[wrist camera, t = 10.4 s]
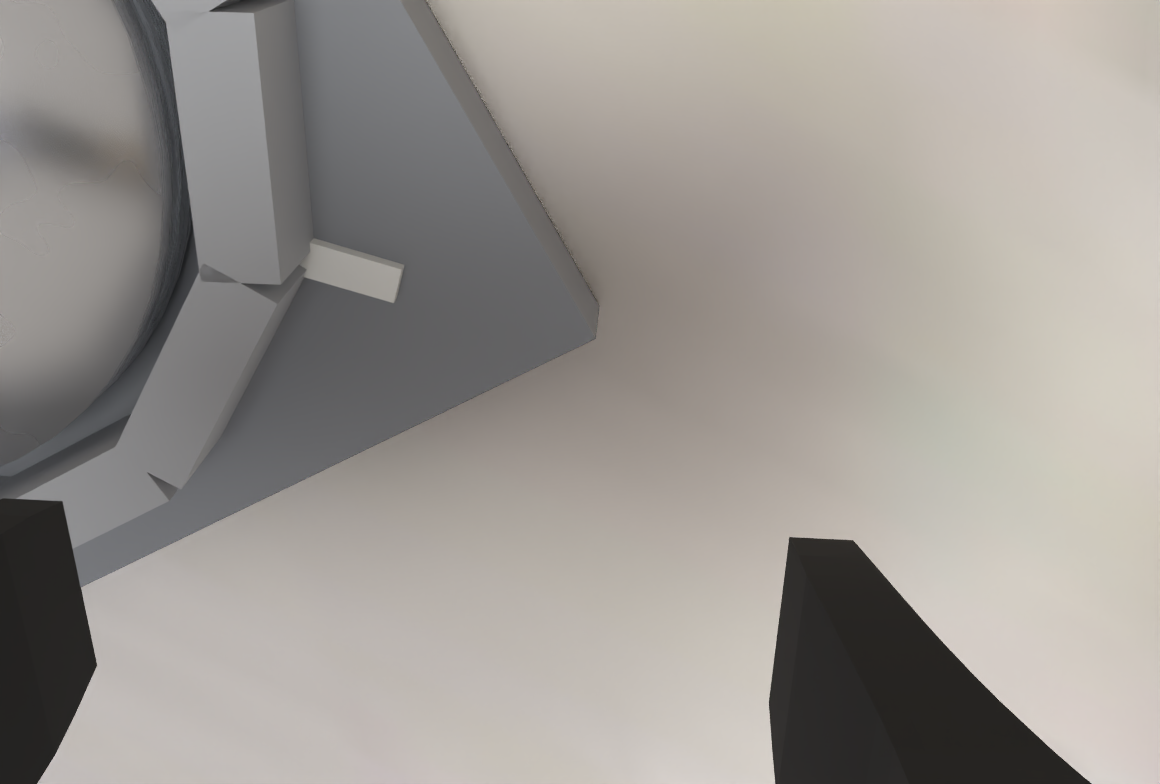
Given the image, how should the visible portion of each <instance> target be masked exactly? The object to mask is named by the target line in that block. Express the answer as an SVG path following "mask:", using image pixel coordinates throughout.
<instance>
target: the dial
mask: <svg viewBox="0 0 1160 784" xmlns="http://www.w3.org/2000/svg"><path fill="white" fill-rule="evenodd" d="M191 219H192V213H191V206H190V198H189V191H188V183H187V176H186V168H185V161H184V153H183V146H182V138H181V131H180V123H179V116H178V108H177V101H176V93H175V86H174V78H173V71H172V63H171V56H170V48H169V41H168V33H167V28H166V26H165V23H164V21H163V19H162V16H161V14H160V13H159V11H158V10H157V8H156V7H155V5H154V4H153V2H152V1H151V0H0V466H3V465H5V464H7V463H10V462H12V461H15V460H17V459H19V458H21V457H22V456H24V455H26V454H27V453H29V452H31V451H32V450H34V449H36V448H37V447H39V446H40V445H42V444H44V443H45V442H47V441H49V440H50V439H52V438H53V437H55V436H56V435H57V434H58V433H59V432H60V431H62V430H63V429H64V428H65V427H66V426H67V425H69V424H70V423H71V422H72V421H73V420H74V419H76V418H77V417H78V416H79V415H80V414H81V413H82V412H84V411H85V410H86V409H87V408H88V407H89V406H90V405H91V404H92V403H93V402H94V401H95V400H96V399H97V398H98V397H99V396H100V395H101V394H102V393H104V392H105V391H106V390H107V389H108V388H109V387H110V386H111V385H112V384H113V383H114V382H115V381H116V380H117V379H118V378H119V377H120V376H121V375H122V374H123V372H124V371H125V370H126V369H127V368H128V366H129V365H130V364H131V363H132V362H133V360H134V359H135V358H136V357H137V356H138V354H139V353H140V352H141V351H142V350H143V348H144V347H145V346H146V344H147V342H148V341H149V339H150V337H151V335H152V334H153V332H154V330H155V329H156V327H157V325H158V324H159V322H160V320H161V319H162V317H163V315H164V314H165V311H166V309H167V306H168V304H169V301H170V299H171V296H172V294H173V291H174V289H175V286H176V284H177V281H178V279H179V276H180V274H181V270H182V265H183V261H184V257H185V252H186V248H187V244H188V239H189V235H190V231H191Z"/></svg>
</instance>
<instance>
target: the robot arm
mask: <svg viewBox="0 0 1160 784" xmlns="http://www.w3.org/2000/svg"><path fill="white" fill-rule="evenodd" d="M96 666H97V663H96V658H95V654H94V649H93V644H92V639H91V634H90V630H89V625H88V620H87V615H86V611H85V606H84V601H83V596H82V592H81V587H80V582H79V577H78V572H77V568H76V563H75V558H74V553H73V549H72V544H71V539H70V534H69V530H68V525H67V520H66V515H65V510H64V506H63V501H48V500H28V499H8V498H3V499H0V784H37V783H38V781H39V780H40V778H41V776H42V775H43V773H44V772H45V770H46V768H47V767H48V765H49V764H50V762H51V760H52V759H53V757H54V756H55V754H56V752H57V750H58V748H59V746H60V744H61V742H62V740H63V738H64V736H65V734H66V732H67V730H68V728H69V726H70V724H71V721H72V719H73V717H74V715H75V713H76V711H77V709H78V707H79V704H80V702H81V700H82V698H83V695H84V693H85V691H86V689H87V687H88V684H89V682H90V680H91V678H92V675H93V673H94V671H95V669H96ZM769 710H770V724H771V737H772V750H773V762H774V773H775V784H1091V783H1090V782H1089V781H1088V780H1086V779H1085V778H1084V777H1083V776H1082V775H1080V774H1079V773H1078V772H1077V771H1076V770H1075V769H1073V768H1072V767H1071V766H1070V765H1069V764H1068V763H1066V762H1065V761H1064V760H1063V759H1062V758H1061V757H1060V756H1058V755H1057V754H1056V753H1055V752H1054V751H1053V750H1052V749H1050V748H1049V747H1048V746H1047V745H1046V744H1045V743H1044V742H1043V741H1042V740H1041V739H1040V738H1039V737H1038V736H1036V735H1035V734H1034V733H1033V732H1032V731H1031V730H1030V729H1029V728H1028V727H1027V726H1026V725H1025V724H1024V723H1023V722H1021V721H1020V720H1019V719H1018V718H1017V717H1016V716H1015V715H1014V714H1013V713H1012V712H1011V711H1010V710H1009V709H1008V708H1006V707H1005V706H1004V705H1003V704H1002V703H1001V702H1000V701H999V700H998V699H997V698H996V697H995V696H994V695H993V694H992V693H991V692H990V691H989V690H988V689H987V688H986V687H985V686H984V685H983V684H982V683H981V682H980V681H979V680H978V679H977V678H976V677H975V676H974V675H973V674H972V673H971V672H970V671H969V670H968V669H967V668H966V667H965V665H964V664H963V663H962V662H961V661H960V660H959V659H958V658H957V657H956V656H955V655H954V654H953V653H952V652H951V651H950V650H949V649H948V648H947V646H946V645H945V644H944V643H943V642H942V641H941V640H940V639H939V638H938V637H937V636H936V634H935V633H934V632H933V631H932V630H931V629H930V628H929V627H928V626H927V625H926V623H925V622H924V621H923V620H922V619H921V618H920V617H919V615H918V614H917V613H916V612H915V611H914V610H913V609H912V608H911V606H910V605H909V604H908V603H907V602H906V601H905V600H904V598H903V597H902V596H901V595H900V594H899V593H898V591H897V590H896V589H895V588H894V587H893V586H892V585H891V583H890V582H889V581H888V580H887V579H886V578H885V576H884V575H883V574H882V573H881V572H880V571H879V569H878V568H877V567H876V566H875V565H874V564H873V563H872V561H871V560H870V559H869V558H868V557H867V556H866V555H865V553H864V552H863V551H862V550H861V549H860V548H859V547H858V545H857V544H856V543H855V542H854V541H853V540H834V539H814V538H794V537H789V545H788V553H787V561H786V569H785V577H784V586H783V594H782V602H781V610H780V618H779V626H778V634H777V642H776V650H775V658H774V666H773V674H772V682H771V690H770V698H769Z"/></svg>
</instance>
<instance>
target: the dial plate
mask: <svg viewBox="0 0 1160 784" xmlns="http://www.w3.org/2000/svg"><path fill="white" fill-rule="evenodd" d="M151 1H152V2H153V4H154V5H155V7H156V8H157V10H158V11H159V13H160V14H161V16H162V19H163V21H164V23H165V26H166V28H167V33H168V41H169V48H170V56H171V63H172V71H173V78H174V86H175V93H176V101H177V108H178V116H179V123H180V131H181V138H182V146H183V153H184V161H185V168H186V176H187V183H188V191H189V198H190V206H191V213H192V219H191V231H190V235H189V239H188V244H187V248H186V252H185V257H184V261H183V265H182V270H181V274H180V276H179V279H178V281H177V284H176V286H175V289H174V291H173V294H172V296H171V299H170V301H169V304H168V306H167V309H166V311H165V314H164V315H163V317H162V319H161V320H160V322H159V324H158V325H157V327H156V329H155V330H154V332H153V334H152V335H151V337H150V339H149V341H148V342H147V344H146V346H145V347H144V348H143V350H142V351H141V352H140V353H139V354H138V356H137V357H136V358H135V359H134V360H133V362H132V363H131V364H130V365H129V366H128V368H127V369H126V370H125V371H124V372H123V374H122V375H121V376H120V377H119V378H118V379H117V380H116V381H115V382H114V383H113V384H112V385H111V386H110V387H109V388H108V389H107V390H106V391H105V392H104V393H102V394H101V395H100V396H99V397H98V398H97V399H96V400H95V401H94V402H93V403H92V404H91V405H90V406H89V407H88V408H87V409H86V410H85V411H84V412H82V413H81V414H80V415H79V416H78V417H77V418H76V419H74V420H73V421H72V422H71V423H70V424H69V425H67V426H66V427H65V428H64V429H63V430H62V431H60V432H59V433H58V434H57V435H56V436H55V437H53V438H52V439H50V440H49V441H47V442H45V443H44V444H42V445H40V446H39V447H37V448H36V449H34V450H32V451H31V452H29V453H27V454H26V455H24V456H22V457H21V458H19V459H17V460H15V461H12V462H10V463H7V464H5V465H3V466H0V499H3V498H8V499H28V500H48V501H63V506H64V510H65V515H66V520H67V525H68V530H69V534H70V539H71V544H72V549H73V553H74V558H75V563H76V568H77V572H78V577H79V582H80V587H83V586H85V585H87V584H89V583H91V582H93V581H95V580H97V579H99V578H101V577H103V576H105V575H107V574H109V573H112V572H114V571H116V570H118V569H120V568H122V567H124V566H126V565H128V564H130V563H132V562H134V561H136V560H138V559H141V558H143V557H145V556H147V555H149V554H151V553H153V552H155V551H157V550H159V549H161V548H163V547H165V546H167V545H170V544H172V543H174V542H176V541H178V540H180V539H182V538H184V537H186V536H188V535H190V534H192V533H194V532H196V531H198V530H201V529H203V528H205V527H207V526H209V525H211V524H213V523H215V522H217V521H219V520H221V519H223V518H225V517H227V516H230V515H232V514H234V513H236V512H238V511H240V510H242V509H244V508H246V507H248V506H250V505H252V504H254V503H256V502H259V501H261V500H263V499H265V498H267V497H269V496H271V495H273V494H275V493H277V492H279V491H281V490H283V489H285V488H287V487H290V486H292V485H294V484H296V483H298V482H300V481H302V480H304V479H306V478H308V477H310V476H312V475H314V474H316V473H319V472H321V471H323V470H325V469H327V468H329V467H331V466H333V465H335V464H337V463H339V462H341V461H343V460H345V459H348V458H350V457H352V456H354V455H356V454H358V453H360V452H362V451H364V450H366V449H368V448H370V447H372V446H374V445H376V444H379V443H381V442H383V441H385V440H387V439H389V438H391V437H393V436H395V435H397V434H399V433H401V432H403V431H405V430H408V429H410V428H412V427H414V426H416V425H418V424H420V423H422V422H424V421H426V420H428V419H430V418H432V417H434V416H437V415H439V414H441V413H443V412H445V411H447V410H449V409H451V408H453V407H455V406H457V405H459V404H461V403H463V402H465V401H468V400H470V399H472V398H474V397H476V396H478V395H480V394H482V393H484V392H486V391H488V390H490V389H492V388H494V387H497V386H499V385H501V384H503V383H505V382H507V381H509V380H511V379H513V378H515V377H517V376H519V375H521V374H523V373H526V372H528V371H530V370H532V369H534V368H536V367H538V366H540V365H542V364H544V363H546V362H548V361H550V360H552V359H554V358H557V357H559V356H561V355H563V354H565V353H567V352H569V351H571V350H573V349H575V348H577V347H579V346H581V345H583V344H586V343H588V342H590V341H592V340H594V339H596V331H597V323H598V314H599V305H598V303H597V301H596V299H595V298H594V296H593V294H592V292H591V291H590V289H589V287H588V285H587V284H586V282H585V280H584V278H583V277H582V275H581V273H580V271H579V270H578V268H577V266H576V264H575V263H574V261H573V259H572V257H571V256H570V254H569V252H568V250H567V248H566V247H565V245H564V243H563V241H562V240H561V238H560V236H559V234H558V233H557V231H556V229H555V227H554V226H553V224H552V222H551V220H550V219H549V217H548V215H547V213H546V212H545V210H544V208H543V206H542V205H541V203H540V201H539V199H538V198H537V196H536V194H535V192H534V191H533V189H532V187H531V185H530V183H529V182H528V180H527V178H526V176H525V175H524V173H523V171H522V169H521V168H520V166H519V164H518V162H517V161H516V159H515V157H514V155H513V154H512V152H511V150H510V148H509V147H508V145H507V143H506V141H505V140H504V138H503V136H502V134H501V133H500V131H499V129H498V127H497V126H496V124H495V122H494V120H493V118H492V117H491V115H490V113H489V111H488V110H487V108H486V106H485V104H484V103H483V101H482V99H481V97H480V96H479V94H478V92H477V90H476V89H475V87H474V85H473V83H472V82H471V80H470V78H469V76H468V75H467V73H466V71H465V69H464V68H463V66H462V64H461V62H460V61H459V59H458V57H457V55H456V53H455V52H454V50H453V48H452V46H451V45H450V43H449V41H448V39H447V38H446V36H445V34H444V32H443V31H442V29H441V27H440V25H439V24H438V22H437V20H436V18H435V17H434V15H433V13H432V11H431V10H430V8H429V6H428V4H427V3H426V1H425V0H151Z"/></svg>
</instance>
